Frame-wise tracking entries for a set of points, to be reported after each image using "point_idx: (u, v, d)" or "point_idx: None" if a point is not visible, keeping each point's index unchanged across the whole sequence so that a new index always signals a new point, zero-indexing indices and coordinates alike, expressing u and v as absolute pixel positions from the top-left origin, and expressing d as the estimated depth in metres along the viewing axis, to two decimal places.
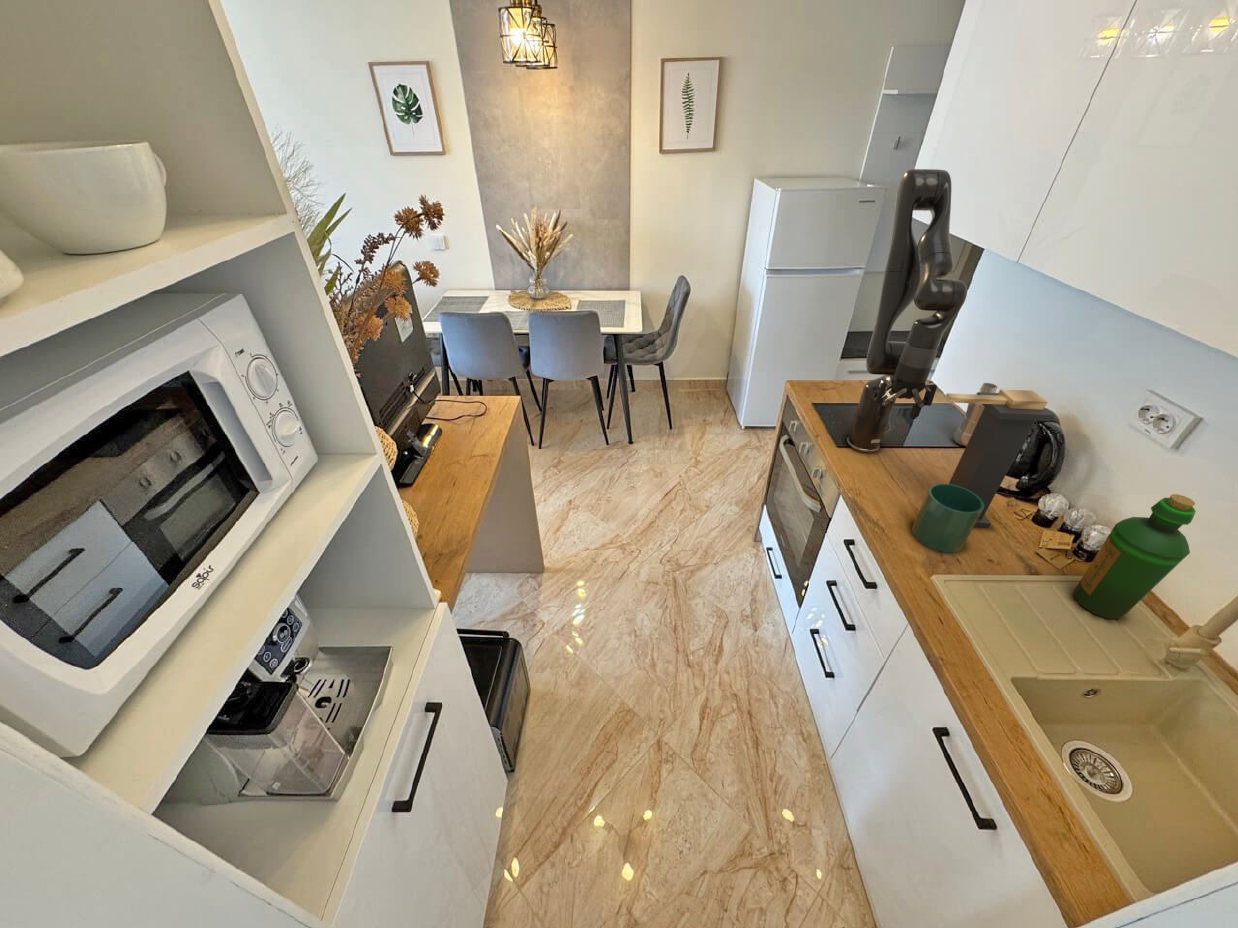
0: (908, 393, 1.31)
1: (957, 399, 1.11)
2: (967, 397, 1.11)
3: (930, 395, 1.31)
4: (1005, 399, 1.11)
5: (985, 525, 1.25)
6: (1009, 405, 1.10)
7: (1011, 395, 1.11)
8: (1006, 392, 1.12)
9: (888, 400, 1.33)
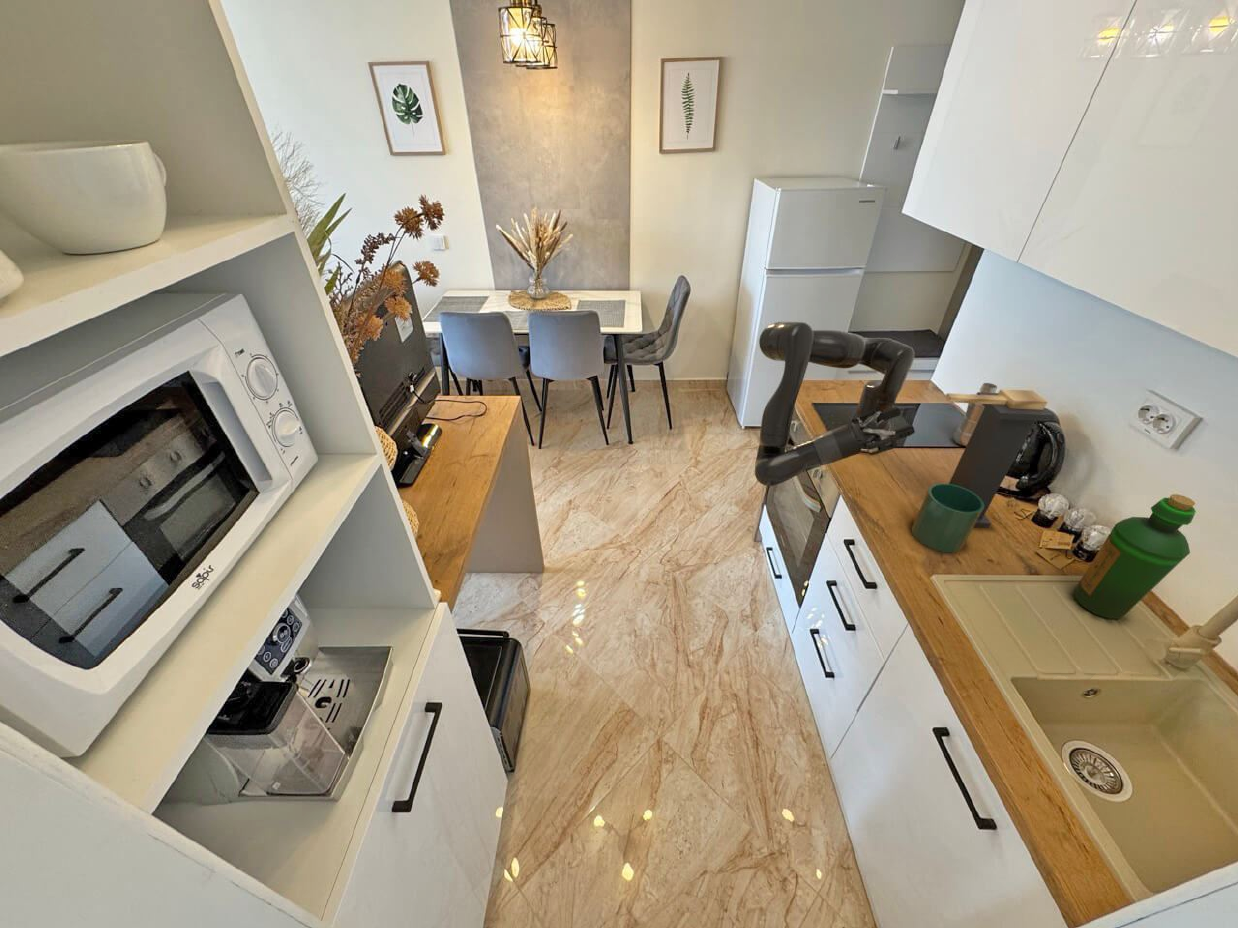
0: None
1: (957, 399, 1.11)
2: (967, 397, 1.11)
3: None
4: (1005, 399, 1.11)
5: (985, 525, 1.25)
6: (1009, 405, 1.10)
7: (1011, 395, 1.11)
8: (1006, 392, 1.12)
9: None
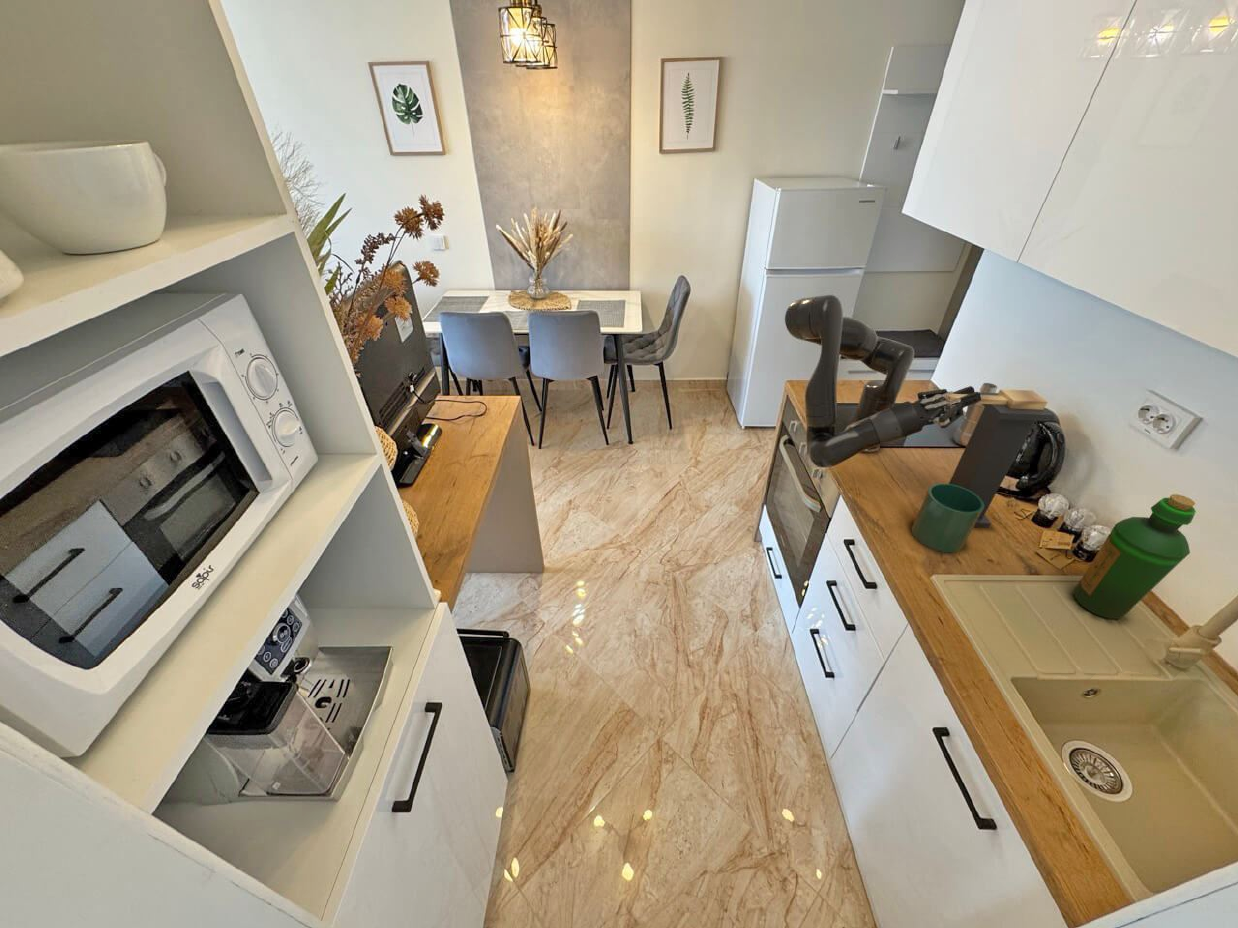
0: None
1: None
2: None
3: None
4: (1005, 399, 1.11)
5: (985, 525, 1.25)
6: (1009, 405, 1.10)
7: (1011, 395, 1.11)
8: (1006, 392, 1.12)
9: None
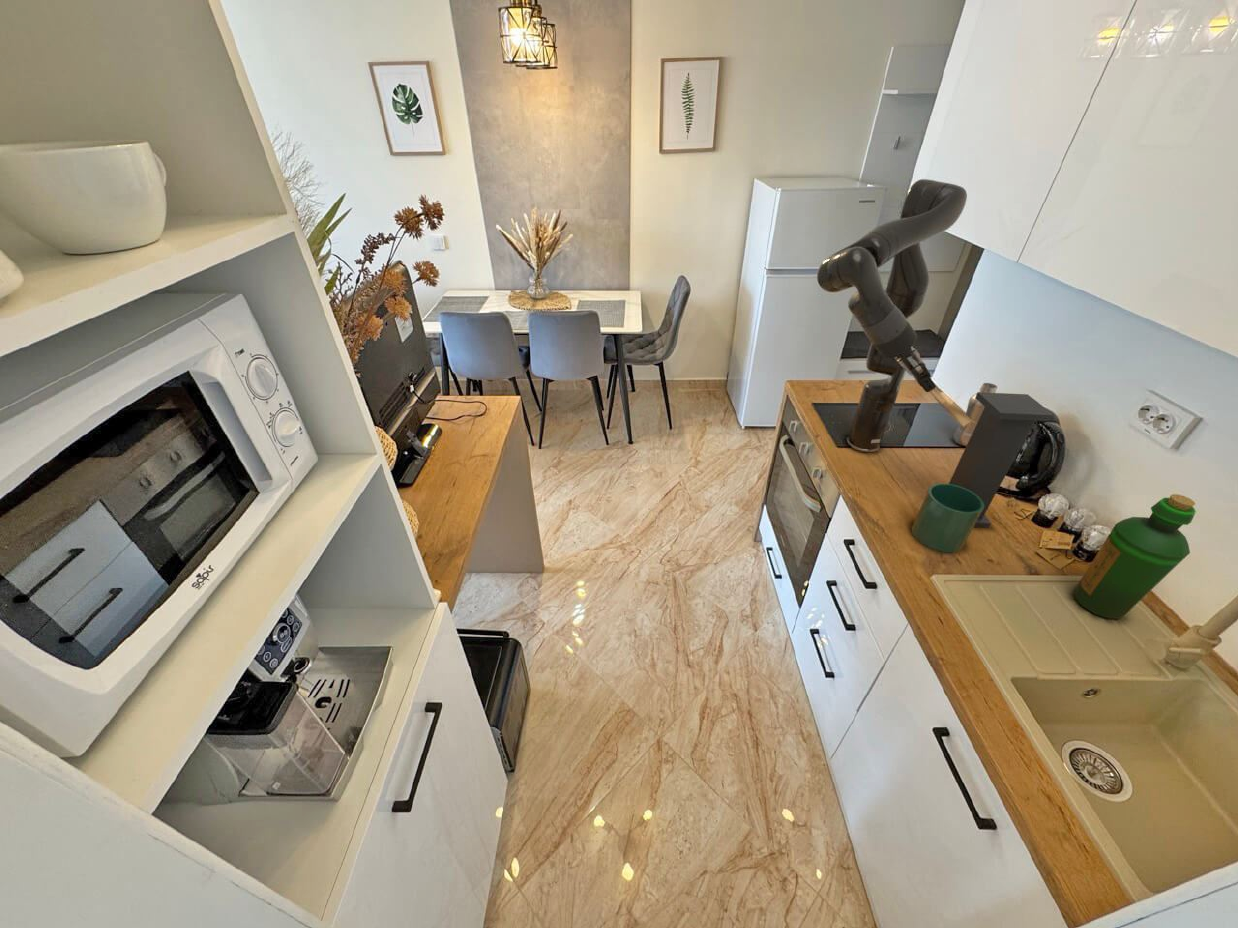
0: None
1: None
2: None
3: (914, 375, 1.05)
4: (945, 399, 1.11)
5: (985, 525, 1.25)
6: (947, 405, 1.11)
7: None
8: (947, 396, 1.13)
9: None
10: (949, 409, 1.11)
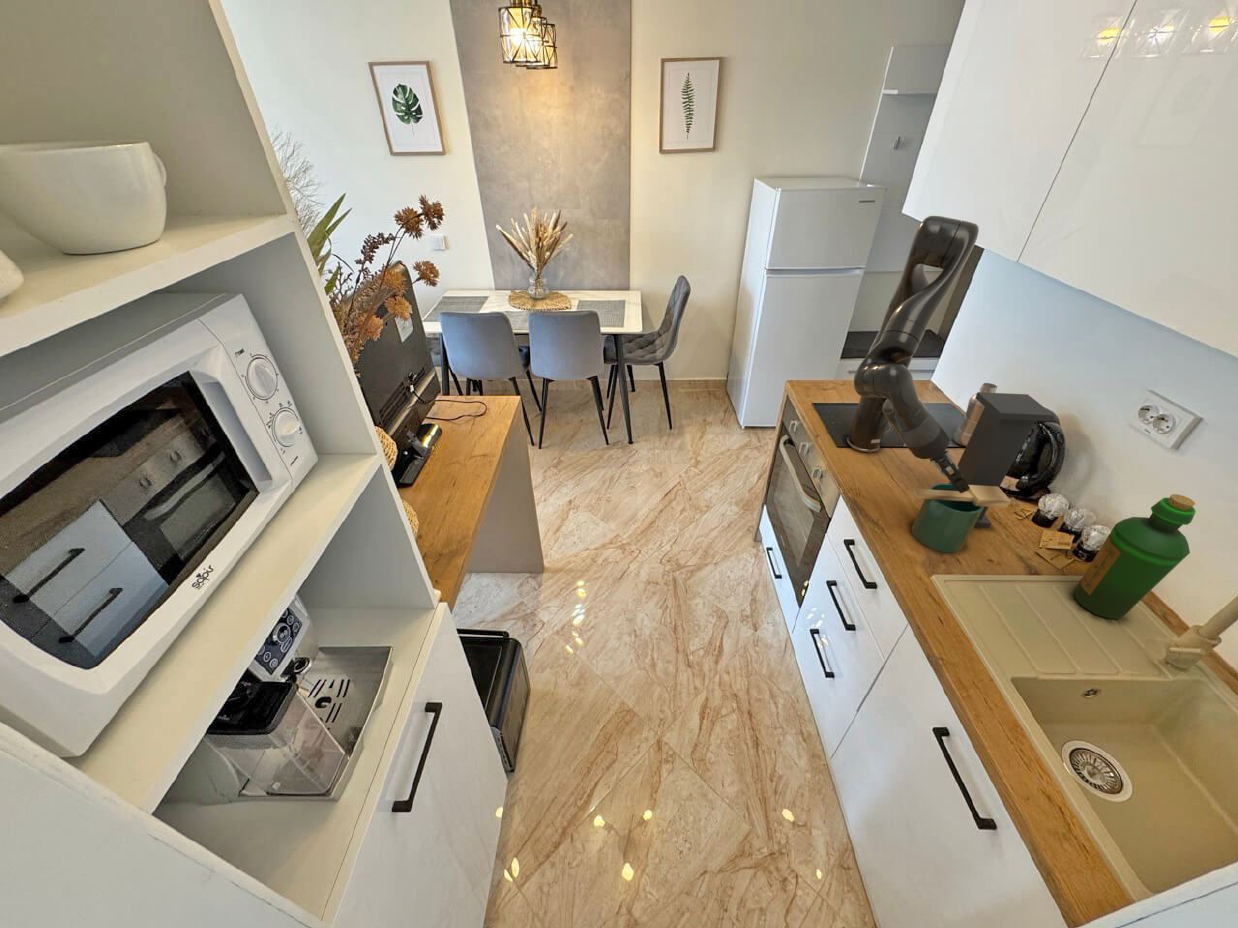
0: None
1: (924, 495, 1.15)
2: (934, 494, 1.15)
3: None
4: (971, 496, 1.15)
5: (985, 525, 1.25)
6: (974, 503, 1.14)
7: (977, 492, 1.15)
8: (972, 488, 1.16)
9: None
10: (979, 505, 1.13)
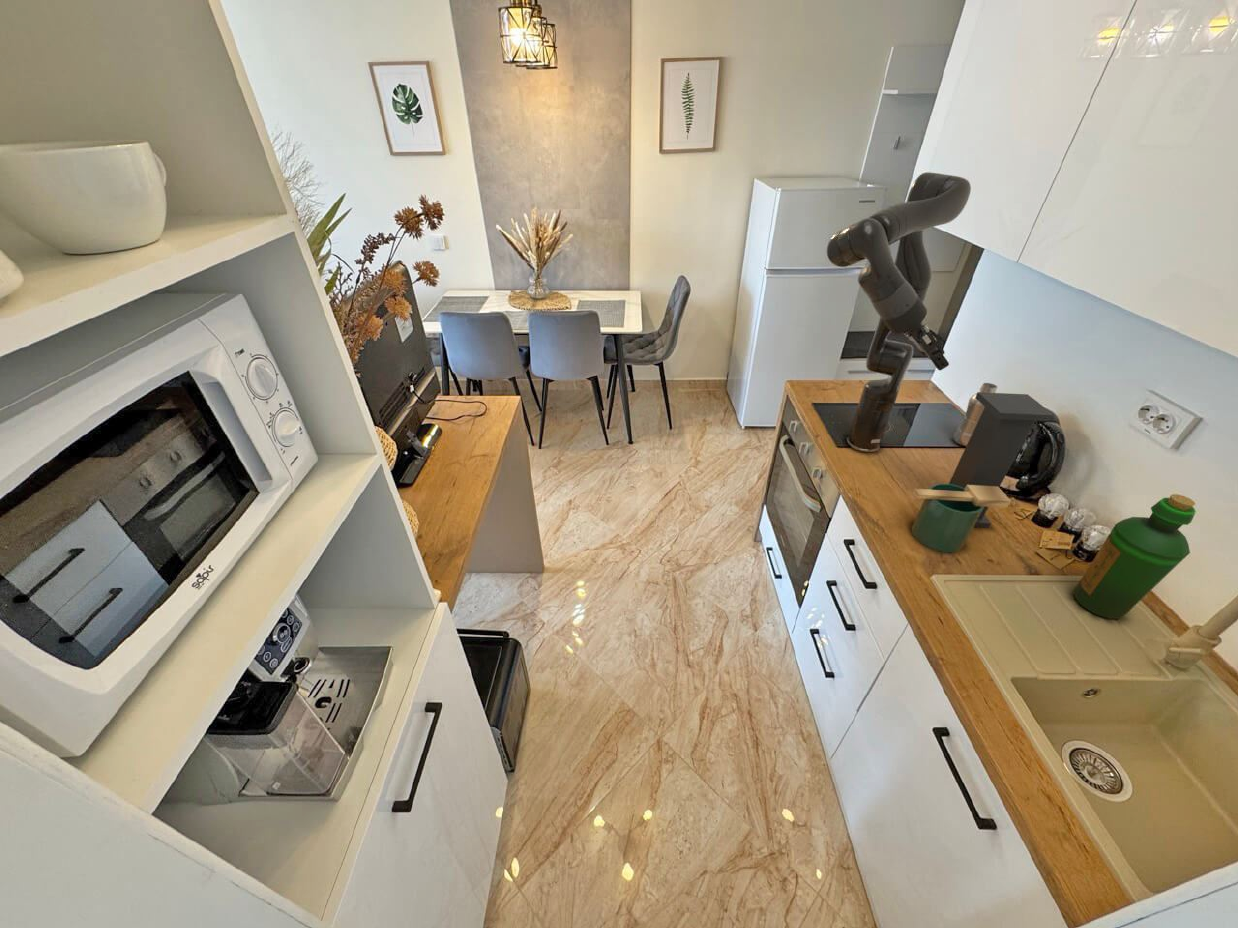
0: None
1: (924, 495, 1.15)
2: (934, 494, 1.15)
3: (924, 349, 1.03)
4: (971, 496, 1.15)
5: (985, 525, 1.25)
6: (974, 503, 1.14)
7: (977, 492, 1.15)
8: (972, 488, 1.16)
9: None
10: (979, 505, 1.13)
